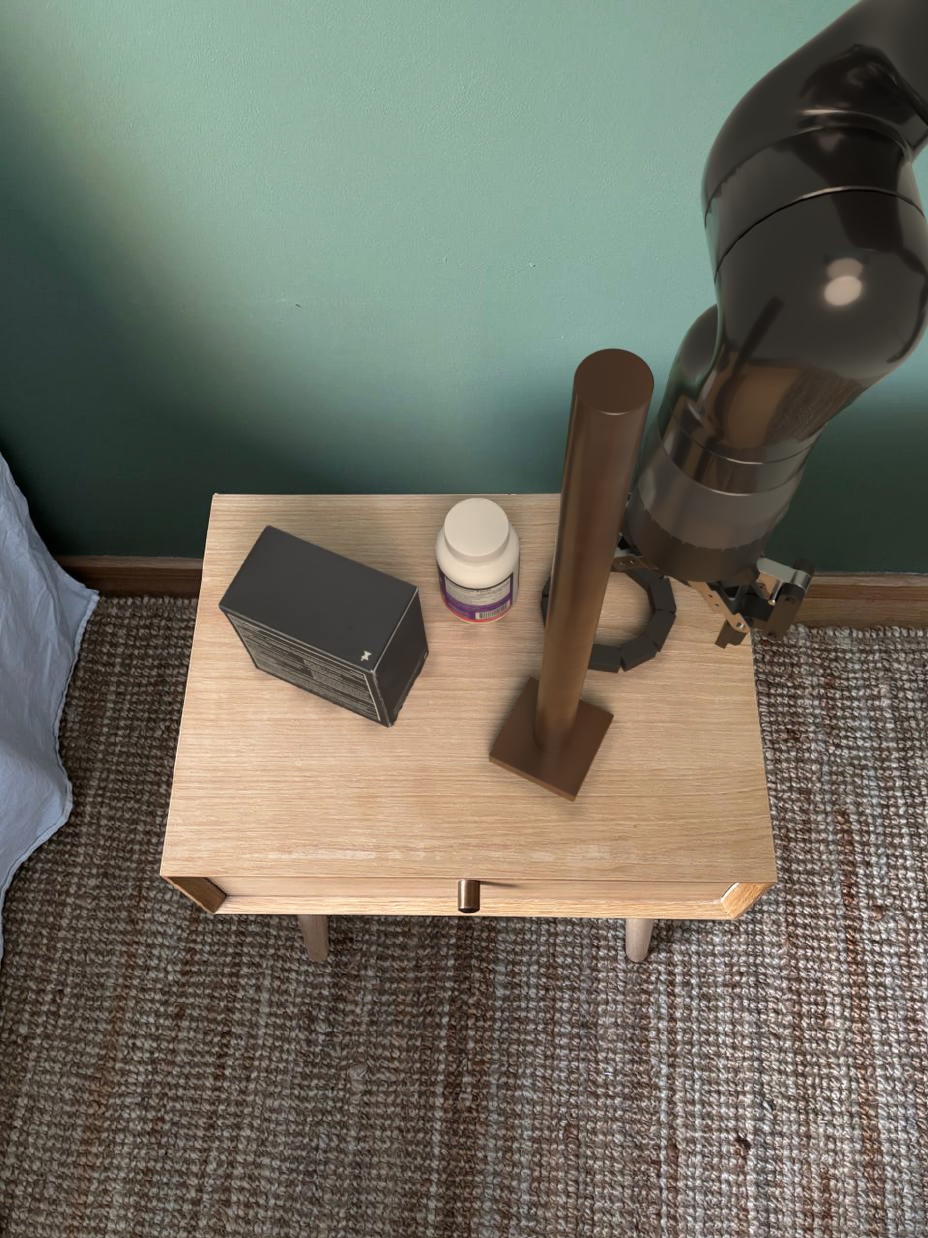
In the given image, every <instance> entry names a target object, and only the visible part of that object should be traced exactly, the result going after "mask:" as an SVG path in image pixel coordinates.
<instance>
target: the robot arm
mask: <svg viewBox="0 0 928 1238" xmlns="http://www.w3.org/2000/svg"><path fill="white" fill-rule="evenodd" d="M927 146H928V0H858V1H857V2H856V3H854V4H853V5H852V6H851V7H849V8H848V9H845V11H844V12H842V13H841V14H840V15H839V16H837V17H836V18H835V19H834V20H833V21H832V22H830V23H829V24H828V25H827V26H826V27H824V28H823V29H821V30H820V31H819V32H817V33H816V34H815V35H814V36H813V37H811V38H809V40H807V41H806V42H805V43H803V44H802V45H801V46H800V47H798V48H797V49H796V50H794V51H793V52H792V53H790V54H789V55H788V56H787V57H785V58H784V59H782V60H781V61H780V62H779V63H778V64H776V65H775V66H774V67H772V69H770V70H768V71H767V72H766V73H765V74H764V75H763V76H762V77H761V78H760V79H758V80H757V81H756V82H755V83H754V84H753V85H752V86H751V87H750V88H749V90H747V91H746V93H744V95H743V96H742V97H740V99H739V101H738V102H737V103H736V104H735V106H734V107H733V108H732V110H731V111H730V112H729V114H728V116H727V117H726V118H725V120H724V122H723V123H722V125H721V126H720V129H719V131H718V133H717V134H716V136H715V138H714V140H713V143H712V145H711V147H710V149H709V151H708V154H707V157H706V160H705V162H704V165H703V170H702V175H701V180H700V194H699V195H700V208H701V214H702V220H703V226H704V232H705V237H706V244H707V250H708V255H709V262H710V267H711V269H710V270H711V272H712V275H711V276H712V281H713V285H714V293H715V300H716V303H714V304H713V305H711V306H709V307H708V308H706V309H705V310H704V311H703V312H702V313H701V314H699V316H697V317H696V318H695V320H694V321H693V322H692V324H691V325H690V326H689V328H688V329H687V330H686V332H685V333H684V335H683V337H682V340H681V341H680V344H679V346H678V347H677V350H676V352H675V355H674V357H673V360H672V363H671V367H670V370H669V372H668V378H667V382H666V385H665V389H664V392H663V397H662V400H661V403H660V406H659V408H658V411H657V412H656V414H655V416H654V417H653V419H652V421H651V423H650V426H649V428H648V431H647V433H646V436H645V439H644V443H643V444H642V445H640V449H639V453H638V457H637V462H636V467H637V469H636V473H635V477H634V481H633V483H632V488H631V491H630V492H629V495H628V500H627V504H626V508H625V512H624V516H623V521H622V525H621V529H620V533H619V538H618V542H617V546H616V550H615V554H614V559H613V563H612V567H611V570H612V568H613V566H614V567H615V568H617V569H618V570H619V571H621V570H628V569H636V568H643V567H646V568H648V569H649V570H652V571H654V572H657V573H659V574H662V575H664V576H666V577H668V578H672V579H674V580H675V581H677V582H679V583H681V584H682V585H684V586H686V587H689V588H690V589H692V590H695V591H698V593H699V594H700V596H701V597H702V598H703V600H704V602H705V603H706V604H707V606H708V607H709V608H710V610H711V611H712V612H713V613H714V614H719V615H723V616H724V618H725V620H724V622H723V624H722V626H721V628H720V631H719V633H718V635H717V638H716V639H715V642H714V645H715V646H717V647H719V648H722V649H724V650H725V649H726V648H727V646H728V644H730V645H733V646H734V647H736V646H740V645H741V644H742V643H743V641H744V639H745V638H746V636H747V635H748V633H750V632H751V631H752V630H754V629H755V630H756V629H757V630H761V634H762V636H763V638H765V639H767V640H769V641H772V642H777V643H779V642H782V641H783V639H784V638H785V636H786V634H787V633H788V630H789V628H790V627H791V625H792V622H793V621H794V619H795V617H796V616H797V613H798V612H799V610H800V608H801V606H802V604H803V601H804V599H805V597H806V594H807V592H808V590H809V588H810V585H811V582H812V580H813V578H814V576H815V573H816V571H817V570H818V569H817V565H816V563H814V562H813V561H811V560H809V559H806V558H801V557H800V558H796V559H795V560H794V562H793V564H792V566H790V565H785V564H782V563H780V562H777V561H774V560H772V559H769V558H767V557H768V556H767V551H766V548H765V547H766V545H767V544H768V541H769V540H770V538H771V537H772V535H773V533H774V531H775V529H776V528H777V526H778V524H779V523H780V521H782V519H783V518H784V517H785V516H786V515H787V513H788V512H789V508H790V506H791V505H790V503H791V501H792V500H793V498H794V496H795V494H796V493H797V490H798V489H799V486H800V483H801V481H802V480H803V479H802V478H803V476H804V473H805V469H806V465H807V461H808V459H809V457H810V456H811V453H812V452H813V450H814V448H815V446H816V445H817V443H818V442H819V439H820V437H821V435H822V434H823V432H824V431H825V428H826V427H827V425H828V423H829V422H830V421H831V420H832V419H834V418H835V417H836V416H837V415H839V414H840V413H841V412H842V411H844V410H845V409H846V408H848V407H849V406H851V405H852V404H853V403H854V402H856V401H857V400H858V399H860V397H861V396H863V395H864V394H865V393H866V392H868V391H869V390H871V389H872V388H873V387H875V386H876V385H878V384H879V383H880V382H881V381H882V380H884V379H886V378H887V377H888V376H889V375H890V374H892V373H893V372H895V371H896V370H897V369H899V368H900V367H901V366H902V365H903V364H904V363H905V362H907V361H908V360H909V359H910V357H911V356H912V355H913V354H914V352H915V351H916V350H917V348H918V347H919V345H920V343H921V341H922V340H923V338H924V336H925V334H926V332H927V329H928V220H927V217H926V213H925V210H924V205H923V202H922V198H921V195H920V191H919V188H918V183H917V180H916V177H915V172H914V169H913V164H914V163H915V162H916V160H917V159H918V157H919V156H920V154H922V152H923V151H924V150H925V149H926V148H927ZM611 572H612V571H610V573H611ZM757 580H758V581H760V582H762V583H763V584H764V585H765V590H766V592H767V593H768V594H769V597H768V598H766V594H765V592H764V591H763V590H762V589H761V587H760V585H759V584H758V582H757Z"/></svg>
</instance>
